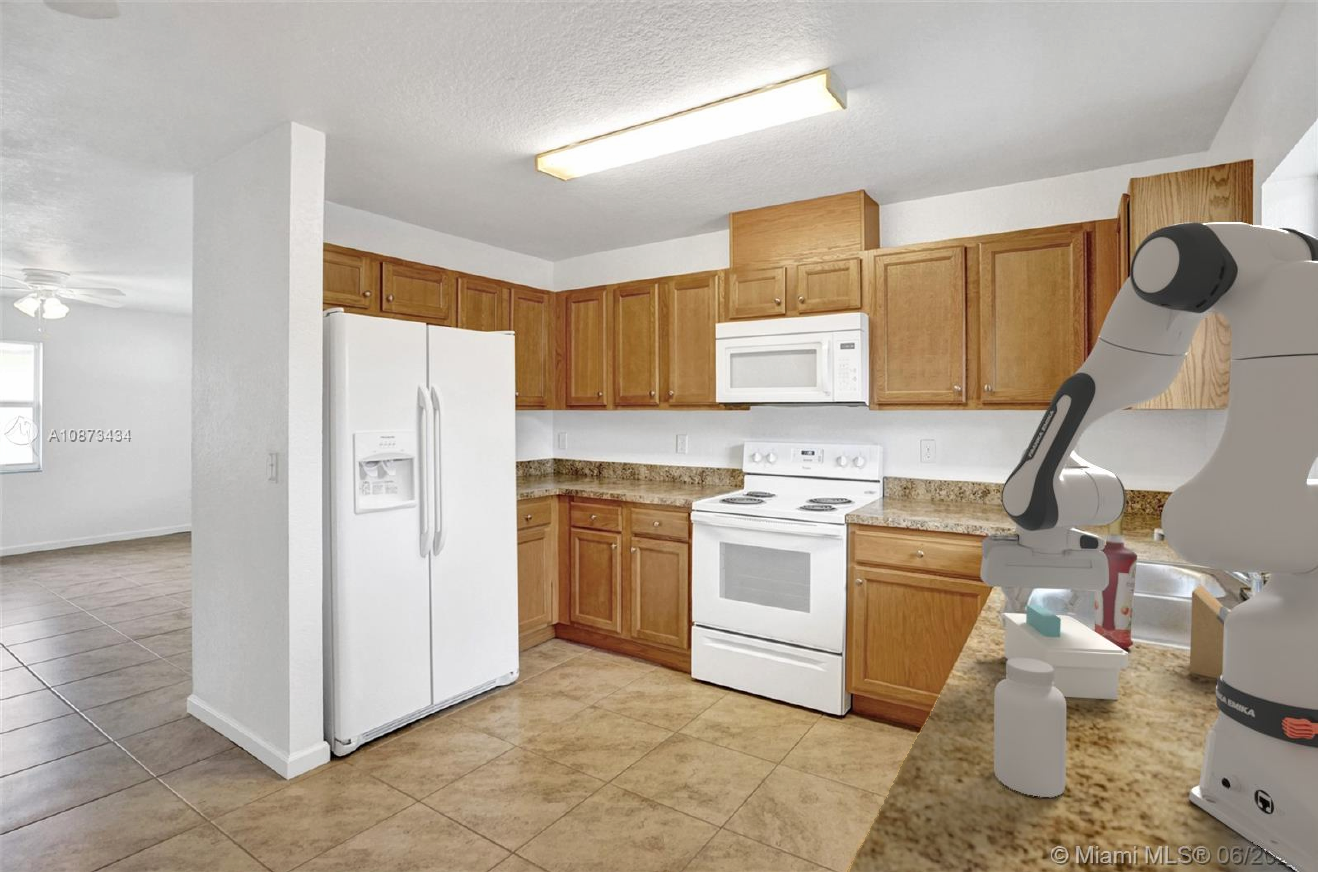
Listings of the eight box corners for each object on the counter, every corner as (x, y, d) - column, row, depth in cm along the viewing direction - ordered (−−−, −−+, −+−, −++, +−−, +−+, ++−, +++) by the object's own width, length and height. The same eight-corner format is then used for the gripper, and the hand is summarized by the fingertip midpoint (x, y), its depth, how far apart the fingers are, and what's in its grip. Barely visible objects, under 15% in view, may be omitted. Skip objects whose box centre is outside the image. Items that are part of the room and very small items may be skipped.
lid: (1130, 669, 107) (1131, 632, 107) (1047, 665, 109) (1047, 628, 109) (1070, 629, 127) (1071, 597, 127) (1000, 625, 129) (1001, 595, 129)
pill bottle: (1000, 758, 90) (1003, 648, 89) (1070, 779, 85) (1073, 663, 84) (985, 784, 84) (988, 666, 83) (1059, 808, 79) (1062, 682, 78)
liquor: (1128, 655, 129) (1132, 511, 128) (1085, 645, 134) (1088, 507, 133) (1139, 647, 133) (1143, 507, 133) (1096, 637, 139) (1100, 503, 138)
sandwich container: (1307, 699, 110) (1310, 609, 109) (1189, 673, 120) (1191, 591, 120) (1309, 684, 116) (1312, 598, 115) (1196, 661, 126) (1198, 582, 126)
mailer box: (1117, 699, 109) (1119, 656, 108) (1045, 695, 110) (1046, 652, 110) (1066, 659, 127) (1067, 621, 126) (1004, 656, 128) (1005, 619, 128)
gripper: (988, 537, 116) (986, 615, 117) (1115, 540, 114) (1112, 620, 114) (976, 530, 123) (974, 604, 123) (1096, 533, 120) (1093, 609, 121)
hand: (1041, 612), depth 119 cm, fingers open, 8 cm apart
